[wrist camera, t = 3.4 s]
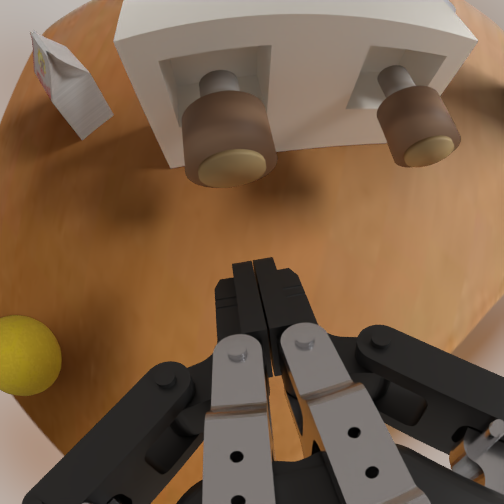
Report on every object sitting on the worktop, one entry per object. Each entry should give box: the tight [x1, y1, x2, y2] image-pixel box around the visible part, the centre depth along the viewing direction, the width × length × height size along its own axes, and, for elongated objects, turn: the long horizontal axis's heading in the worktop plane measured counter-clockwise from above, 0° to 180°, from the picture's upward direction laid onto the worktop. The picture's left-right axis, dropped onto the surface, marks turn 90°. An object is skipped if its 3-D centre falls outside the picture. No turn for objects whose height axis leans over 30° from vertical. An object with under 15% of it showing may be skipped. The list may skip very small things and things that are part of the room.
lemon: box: [0, 315, 62, 396], centre depth 16 cm, size 6×6×8 cm
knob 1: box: [181, 70, 278, 188], centre depth 15 cm, size 4×6×4 cm
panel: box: [114, 0, 478, 169], centre depth 18 cm, size 20×5×13 cm, turn 99°
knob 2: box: [377, 65, 461, 167], centre depth 16 cm, size 4×6×4 cm
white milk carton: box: [30, 30, 114, 140], centre depth 20 cm, size 4×7×10 cm, turn 42°
